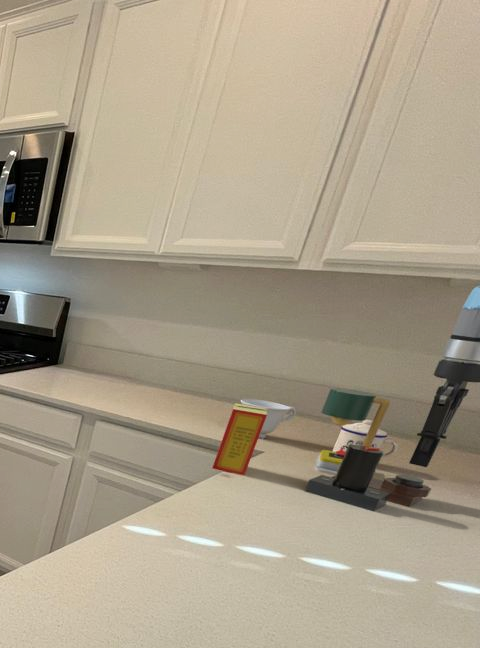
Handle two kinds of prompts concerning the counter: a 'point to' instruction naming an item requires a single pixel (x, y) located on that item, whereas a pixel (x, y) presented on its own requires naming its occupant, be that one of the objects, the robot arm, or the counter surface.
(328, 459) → the emergency button
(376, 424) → the desk lamp
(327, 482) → the dimmer panel
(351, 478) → the black pen holder
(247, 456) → the baking soda box
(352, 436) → the teacup with lid
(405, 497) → the lamp base
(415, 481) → the lamp button
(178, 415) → the counter surface
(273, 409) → the teacup
